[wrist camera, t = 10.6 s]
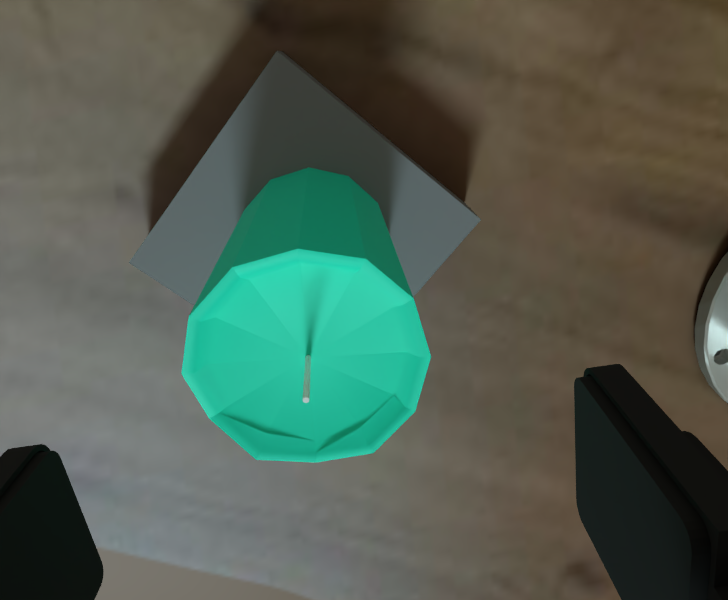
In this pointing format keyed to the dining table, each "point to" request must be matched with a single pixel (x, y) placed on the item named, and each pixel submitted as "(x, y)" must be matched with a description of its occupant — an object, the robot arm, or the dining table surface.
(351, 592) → the dining table surface
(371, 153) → the plinth
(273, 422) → the candle
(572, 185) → the dining table surface
